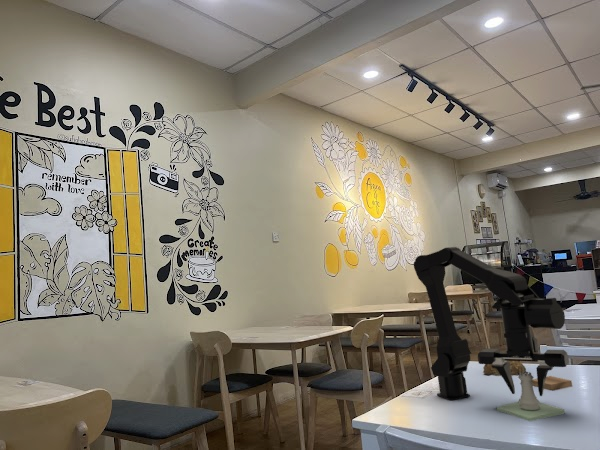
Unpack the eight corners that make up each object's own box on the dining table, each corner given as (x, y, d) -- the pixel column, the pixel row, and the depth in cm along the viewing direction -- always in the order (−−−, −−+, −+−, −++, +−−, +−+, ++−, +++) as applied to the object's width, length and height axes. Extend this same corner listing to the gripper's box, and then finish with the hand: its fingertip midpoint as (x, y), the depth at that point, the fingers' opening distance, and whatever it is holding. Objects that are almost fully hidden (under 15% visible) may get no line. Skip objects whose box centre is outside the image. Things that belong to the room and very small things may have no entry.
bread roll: (520, 367, 148) (518, 352, 148) (530, 375, 136) (527, 359, 136) (480, 369, 151) (478, 354, 151) (486, 377, 139) (483, 361, 139)
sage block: (530, 427, 96) (529, 418, 97) (498, 415, 106) (496, 406, 106) (565, 418, 99) (564, 409, 100) (531, 407, 109) (529, 399, 109)
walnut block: (552, 392, 118) (551, 384, 118) (532, 387, 124) (530, 379, 125) (572, 387, 120) (571, 380, 120) (551, 383, 126) (550, 375, 127)
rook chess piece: (543, 410, 100) (538, 374, 101) (522, 411, 101) (518, 375, 102) (536, 404, 105) (532, 370, 105) (516, 405, 105) (512, 371, 106)
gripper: (566, 321, 106) (577, 388, 104) (486, 323, 117) (495, 383, 115) (558, 328, 97) (571, 402, 95) (473, 329, 108) (482, 394, 106)
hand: (527, 394), depth 103 cm, fingers open, 6 cm apart
